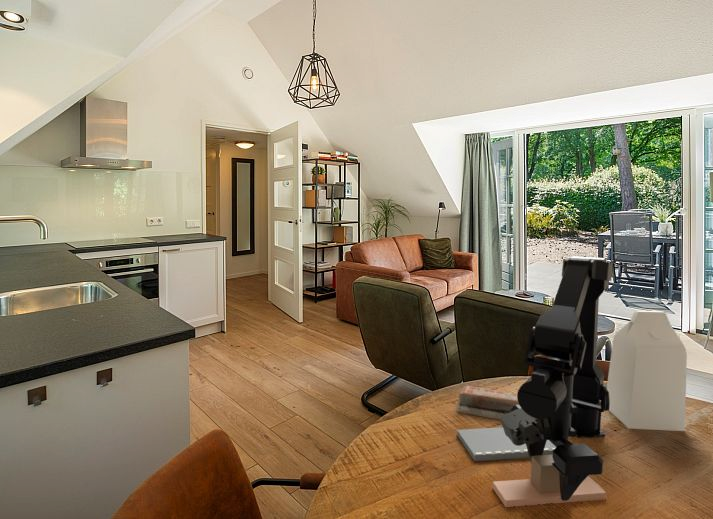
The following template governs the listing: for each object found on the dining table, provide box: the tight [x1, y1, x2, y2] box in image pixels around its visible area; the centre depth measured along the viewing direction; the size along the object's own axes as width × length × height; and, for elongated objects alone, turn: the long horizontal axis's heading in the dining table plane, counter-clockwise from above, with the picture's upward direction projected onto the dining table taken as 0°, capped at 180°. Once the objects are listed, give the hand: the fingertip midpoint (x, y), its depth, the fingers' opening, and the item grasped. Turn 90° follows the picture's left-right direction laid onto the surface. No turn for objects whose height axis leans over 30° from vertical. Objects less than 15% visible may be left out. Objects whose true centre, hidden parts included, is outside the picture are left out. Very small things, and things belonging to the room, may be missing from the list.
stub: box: [492, 455, 607, 508], centre depth 73 cm, size 18×5×6 cm, turn 96°
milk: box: [606, 310, 688, 432], centre depth 100 cm, size 12×12×26 cm
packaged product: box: [456, 385, 519, 421], centre depth 105 cm, size 18×5×10 cm
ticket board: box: [456, 426, 556, 462], centre depth 89 cm, size 18×10×1 cm, turn 96°
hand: (548, 482), depth 73 cm, fingers open, 9 cm apart
